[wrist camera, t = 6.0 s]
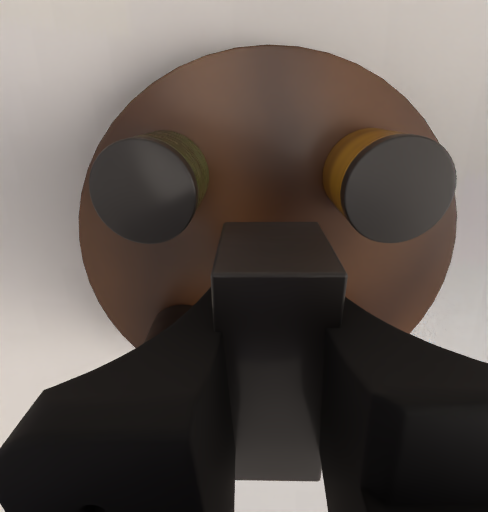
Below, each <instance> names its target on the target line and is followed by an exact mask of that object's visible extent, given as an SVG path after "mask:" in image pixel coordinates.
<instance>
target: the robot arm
mask: <svg viewBox="0 0 488 512" xmlns="http://www.w3.org/2000/svg"><path fill="white" fill-rule="evenodd" d="M319 453H320V460H321V466H322V473H323V479H324V486H325V492H326V499H327V506H328V512H488V363H485V362H481V361H478V360H475V359H472V358H469V357H466V356H464V355H461V354H458V353H455V352H452V351H449V350H447V349H444V348H441V347H439V346H436V345H434V344H431V343H429V342H426V341H424V340H422V339H420V338H417V337H415V336H413V335H411V334H408V333H406V332H404V331H402V330H400V329H398V328H396V327H394V326H392V325H390V324H388V323H386V322H385V321H383V320H381V319H379V318H377V317H375V316H374V315H372V314H370V313H369V312H367V311H366V310H364V309H363V308H361V307H360V306H358V305H357V304H355V303H354V302H352V301H351V300H349V299H348V298H347V297H345V301H344V308H343V316H342V323H341V327H340V328H325V347H324V366H323V386H322V405H321V425H320V444H319ZM235 454H236V452H235V443H234V434H233V425H232V416H231V407H230V398H229V388H228V379H227V370H226V361H225V352H224V343H223V334H222V332H215V331H214V324H213V309H212V293H211V287H210V288H209V289H208V291H207V292H206V293H205V294H204V295H203V296H202V297H201V298H200V299H199V300H198V301H197V302H196V303H195V304H194V305H193V306H192V307H191V308H190V309H189V310H188V311H187V312H186V313H185V314H184V315H183V316H182V317H180V318H179V319H178V320H177V321H175V322H174V323H173V324H172V325H170V326H169V327H168V328H166V329H165V330H164V331H162V332H161V333H159V334H158V335H156V336H155V337H153V338H152V339H150V340H148V341H147V342H145V343H144V344H142V345H140V346H139V347H137V348H136V349H134V350H132V351H130V352H129V353H127V354H125V355H123V356H121V357H119V358H117V359H115V360H113V361H111V362H109V363H107V364H105V365H103V366H101V367H99V368H97V369H95V370H92V371H90V372H88V373H86V374H83V375H81V376H78V377H76V378H73V379H71V380H69V381H66V382H64V383H61V384H59V385H56V386H54V387H51V388H48V389H46V390H44V391H43V392H42V393H41V394H40V396H39V397H38V398H37V400H36V401H35V402H34V404H33V405H32V406H31V408H30V409H29V410H28V412H27V413H26V414H25V416H24V417H23V418H22V420H21V421H20V422H19V424H18V425H17V426H16V428H15V429H14V430H13V432H12V433H11V434H10V436H9V437H8V439H7V440H6V441H5V443H4V444H3V445H2V447H1V448H0V504H1V505H2V507H3V508H4V510H5V512H234V493H235Z"/></svg>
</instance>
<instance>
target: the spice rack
mask: <svg viewBox="0 0 488 512" xmlns="http://www.w3.org/2000/svg"><path fill="white" fill-rule="evenodd" d="M455 189H456V170H455V166H454V163H453V161H452V158H451V156H450V155H449V153H448V152H447V151H446V150H445V148H444V147H443V146H441V145H440V144H439V142H438V140H437V139H436V137H435V135H434V134H433V132H432V131H431V129H430V127H429V126H428V124H427V123H426V121H425V119H424V118H423V117H422V116H421V115H420V113H419V112H418V111H417V110H416V109H415V108H414V107H413V105H412V104H411V103H410V102H409V101H408V100H407V99H406V98H405V97H404V96H403V95H402V94H401V93H399V92H398V91H397V90H396V89H395V88H393V87H392V86H391V85H390V84H388V83H387V82H386V81H385V80H384V79H382V78H380V77H379V76H377V75H375V74H374V73H372V72H370V71H368V70H367V69H365V68H363V67H362V66H360V65H358V64H356V63H353V62H351V61H348V60H346V59H343V58H341V57H338V56H335V55H333V54H330V53H327V52H322V51H317V50H313V49H308V48H304V47H299V46H282V45H258V46H248V47H237V48H233V49H229V50H225V51H221V52H217V53H213V54H209V55H206V56H203V57H201V58H198V59H196V60H194V61H191V62H189V63H187V64H184V65H182V66H180V67H177V68H176V69H174V70H173V71H171V72H169V73H168V74H166V75H164V76H163V77H161V78H160V79H158V80H156V81H155V82H153V83H152V84H151V85H149V86H148V87H147V88H146V89H145V90H144V91H142V92H141V93H140V94H139V95H138V96H137V97H135V98H134V99H133V100H132V101H131V102H130V103H129V104H128V105H127V106H126V107H125V109H124V110H123V111H122V112H121V113H120V114H119V116H118V117H117V118H116V119H115V120H114V121H113V123H112V124H111V126H110V127H109V129H108V130H107V132H106V134H105V135H104V137H103V138H102V140H101V142H100V143H99V145H98V147H97V149H96V151H95V154H94V156H93V158H92V161H91V163H90V165H89V167H88V170H87V174H86V178H85V182H84V185H83V189H82V193H81V201H80V210H79V240H80V246H81V252H82V258H83V263H84V266H85V269H86V272H87V276H88V279H89V282H90V284H91V286H92V289H93V291H94V293H95V295H96V297H97V299H98V302H99V303H100V305H101V306H102V308H103V310H104V311H105V313H106V314H107V316H108V318H109V319H110V320H111V322H112V323H113V324H114V325H115V327H116V328H117V329H118V330H119V331H120V333H121V334H122V335H123V336H124V337H125V338H126V339H127V340H128V341H129V342H130V343H131V344H132V345H133V346H134V347H135V348H137V347H139V346H140V345H142V344H144V343H145V342H147V341H148V340H150V339H152V338H153V337H155V336H156V335H158V334H159V333H161V332H162V331H164V330H165V329H166V328H168V327H169V326H170V325H172V324H173V323H174V322H175V321H177V320H178V319H179V318H180V317H182V316H183V315H184V314H185V313H186V312H187V311H188V310H189V309H190V308H191V307H192V306H193V305H194V304H195V303H196V302H197V301H198V300H199V299H200V298H201V297H202V296H203V295H204V294H205V293H206V292H207V291H208V289H209V288H210V287H211V293H212V309H213V324H214V331H215V332H222V334H223V343H224V352H225V361H226V370H227V379H228V388H229V398H230V407H231V416H232V425H233V434H234V443H235V452H236V454H235V480H263V481H320V478H321V470H322V466H321V460H320V453H319V444H320V425H321V405H322V386H323V366H324V347H325V328H340V327H341V323H342V316H343V308H344V301H345V297H347V298H348V299H349V300H351V301H352V302H354V303H355V304H357V305H358V306H360V307H361V308H363V309H364V310H366V311H367V312H369V313H370V314H372V315H374V316H375V317H377V318H379V319H381V320H383V321H385V322H386V323H388V324H390V325H392V326H394V327H396V328H398V329H400V330H402V331H404V332H406V333H408V334H410V332H411V331H412V330H413V329H414V328H415V327H416V326H417V324H418V323H419V322H420V321H421V320H422V318H423V317H424V315H425V314H426V312H427V311H428V309H429V308H430V306H431V305H432V303H433V302H434V300H435V298H436V296H437V294H438V292H439V290H440V288H441V286H442V284H443V282H444V279H445V276H446V273H447V271H448V268H449V265H450V262H451V258H452V253H453V248H454V243H455V238H456V221H457V211H456V200H455Z"/></svg>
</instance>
